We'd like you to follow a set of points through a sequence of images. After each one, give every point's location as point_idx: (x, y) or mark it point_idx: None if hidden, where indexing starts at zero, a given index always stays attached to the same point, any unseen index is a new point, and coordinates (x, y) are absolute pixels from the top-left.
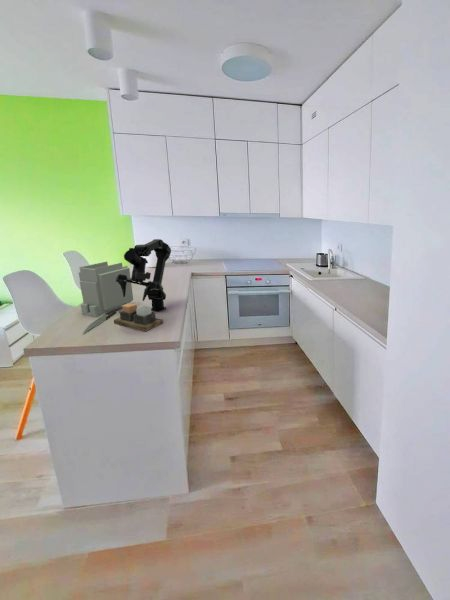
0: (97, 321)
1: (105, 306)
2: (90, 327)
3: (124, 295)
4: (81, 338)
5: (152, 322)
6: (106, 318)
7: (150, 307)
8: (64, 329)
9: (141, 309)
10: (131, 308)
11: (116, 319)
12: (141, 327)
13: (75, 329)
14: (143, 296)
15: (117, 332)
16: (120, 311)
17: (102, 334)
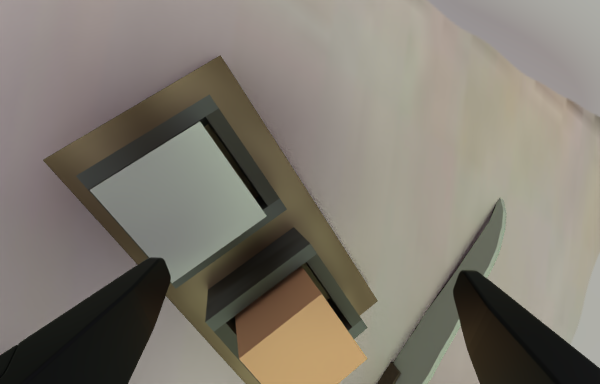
0: (448, 310)
1: None
2: (476, 254)
3: (483, 285)
4: (508, 158)
5: (144, 132)
6: (395, 367)
7: (96, 187)
8: (544, 298)
9: (216, 167)
10: (293, 301)
11: (363, 301)
12: (240, 89)
13: (513, 281)
14: (125, 347)
15: (369, 147)
16: (359, 333)
17: (433, 159)
